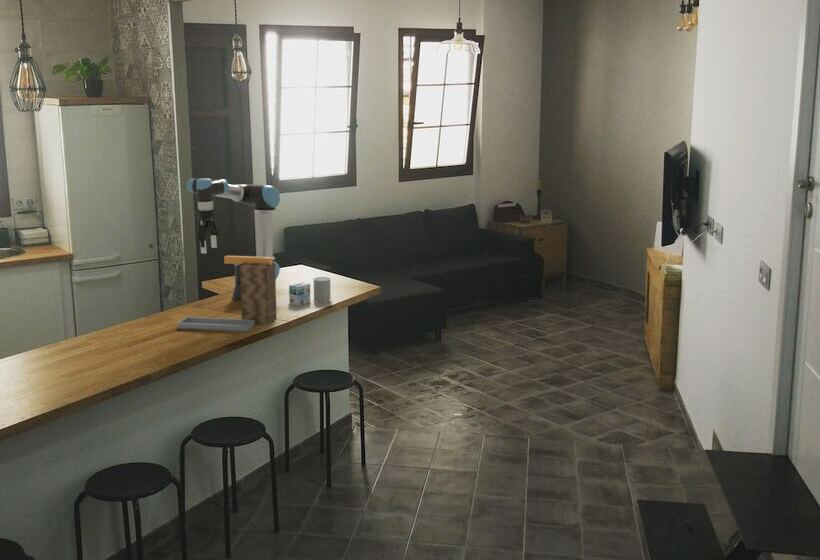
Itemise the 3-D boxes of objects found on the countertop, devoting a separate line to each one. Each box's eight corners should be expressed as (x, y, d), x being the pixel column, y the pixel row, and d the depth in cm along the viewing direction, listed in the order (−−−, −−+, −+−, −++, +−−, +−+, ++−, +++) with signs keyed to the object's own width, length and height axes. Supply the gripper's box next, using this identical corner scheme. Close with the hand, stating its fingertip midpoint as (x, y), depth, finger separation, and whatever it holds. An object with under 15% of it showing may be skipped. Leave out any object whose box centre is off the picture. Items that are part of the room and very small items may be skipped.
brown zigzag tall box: (241, 324, 444) (239, 264, 437) (250, 316, 457) (248, 258, 450) (268, 325, 442) (266, 265, 435) (276, 318, 455) (274, 259, 448)
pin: (224, 263, 443) (224, 256, 443) (226, 262, 447) (226, 255, 446) (270, 265, 440) (269, 258, 439) (272, 263, 444) (271, 257, 443)
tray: (177, 328, 434) (177, 323, 433) (186, 322, 445) (186, 316, 445) (247, 332, 429) (247, 326, 428) (255, 325, 441) (254, 320, 440)
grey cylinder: (311, 298, 496) (311, 277, 493) (328, 297, 499) (327, 276, 497) (316, 302, 487) (315, 281, 485) (332, 301, 491) (332, 280, 488)
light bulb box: (297, 305, 481) (297, 286, 478) (288, 304, 484) (288, 285, 482) (311, 302, 489) (310, 283, 486) (302, 300, 493) (301, 281, 490)
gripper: (203, 213, 427) (206, 255, 433) (222, 205, 451) (225, 245, 456) (188, 213, 429) (192, 255, 434) (208, 205, 453) (211, 245, 458)
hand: (209, 250), depth 445 cm, fingers open, 13 cm apart
